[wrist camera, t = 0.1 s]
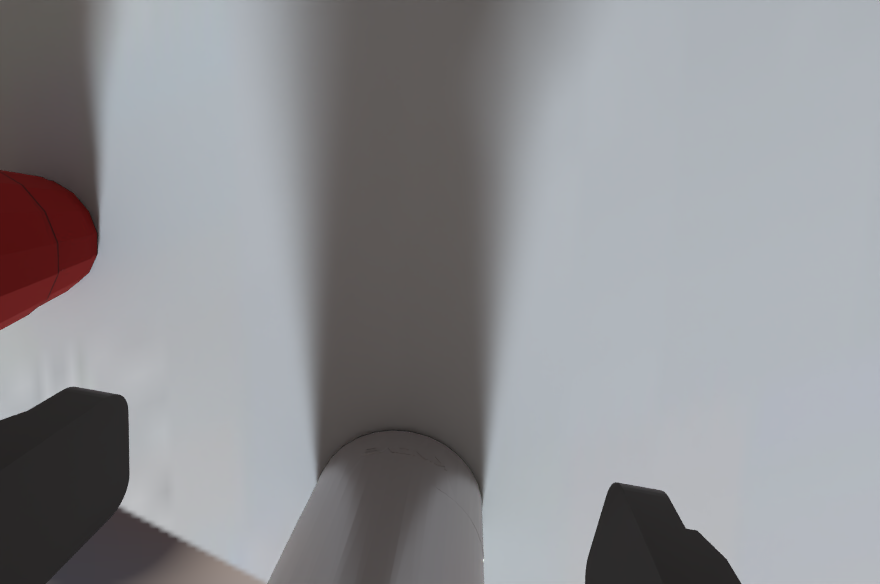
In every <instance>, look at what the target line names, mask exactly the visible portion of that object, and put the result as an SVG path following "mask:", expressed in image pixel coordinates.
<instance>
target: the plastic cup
mask: <svg viewBox="0 0 880 584" xmlns="http://www.w3.org/2000/svg"><path fill="white" fill-rule="evenodd" d="M96 256H97V232H96V229H95V227H94V224H93V221H92V219H91V216H90V213H89V211H88V210H87V209H86V208H85V206H84V205H83V204H82V203H81V202H80V200H79V199H78V198H77V197H76V196H75V194H74V193H72V192H71V191H69V190H67V189H66V188H64V187H62V186H61V185H59V184H57V183H56V182H54V181H51V180H47V179H45V178H43V177H39V176H33V175H27V174H22V173H16V172H9V171H3V170H0V330H1V329H3V328H5V327H7V326H9V325H11V324H12V323H14V322H16V321H18V320H20V319H22V318H23V317H25V316H27V315H29V314H30V313H31V312H32V311H33V310H35V309H36V308H37V307H39V306H41V305H42V304H44V303H46V302H48V301H50V300H52V299H53V298H55V297H57V296H59V295H61V294H63V293H64V292H66V291H68V290H69V289H70V288H71V287H73V286H74V285H75V284H76V283H78V282H79V281H80V280H81V279H82V278H83V277H84V276H86V275H87V274H88V273H89V272H90V269H91V267H92V265H93V263H94V261H95V258H96Z"/></svg>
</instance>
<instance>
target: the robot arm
mask: <svg viewBox="0 0 880 584" xmlns="http://www.w3.org/2000/svg"><path fill="white" fill-rule="evenodd" d="M128 482H129V423H128V405H127V402H126V400H125V398H124V397H123V396H121V395H118V394H112V393H107V392H101V391H95V390H90V389H84V388H79V387H69V388H66V389H64V390H62V391H60V392H59V393H57V394H55V395H54V396H52V397H50V398H49V399H47V400H45V401H44V402H42V403H40V404H38V405H37V406H35V407H33V408H32V409H30V410H28V411H26V412H23V413H20V414H17V415H14V416H11V417H9V418H6V419H3V420H0V584H46V583H47V582H48V581H49V580H50V579H51V578H52V577H53V576H54V575H55V574H56V573H57V571H58V570H60V568H61V567H62V566H63V565H64V564H65V563H66V562H67V561H68V560H69V559H70V558H71V557H72V556H73V555H74V554H75V553H76V552H77V551H78V550H79V549H80V548H81V547H82V546H83V545H84V544H85V543H86V542H87V541H88V540H89V539H90V538H91V537H92V536H93V535H94V534H95V533H96V532H97V531H98V530H99V529H100V527H102V526H103V525H104V524H105V523H106V522H107V521H108V520H109V519H110V518H111V516H112V515H113V514H114V512H115V511H116V510H117V509H118V507H119V505H120V504H121V502H122V500H123V498H124V495H125V493H126V490H127V486H128ZM267 584H484V552H483V523H482V498H481V494H480V491H479V487H478V483H477V481H476V479H475V478H474V476H473V474H472V472H471V470H470V468H469V467H468V466H467V465H466V464H465V463H464V461H463V460H462V459H461V458H460V457H459V456H458V455H457V454H456V453H454V452H453V451H452V450H451V449H449V448H448V447H447V446H445V445H444V444H442V443H440V442H438V441H436V440H434V439H432V438H430V437H427V436H424V435H420V434H417V433H413V432H406V431H394V430H392V431H383V432H375V433H371V434H368V435H365V436H362V437H359V438H357V439H355V440H353V441H352V442H350V443H348V444H346V445H345V446H343V447H342V448H341V449H340V450H339V451H338V452H337V453H336V454H335V455H334V456H332V458H331V459H330V461H329V462H328V464H327V465H326V467H325V468H324V470H323V472H322V474H321V476H320V478H319V480H318V482H317V484H316V486H315V488H314V490H313V492H312V494H311V496H310V498H309V500H308V502H307V504H306V506H305V508H304V510H303V512H302V514H301V516H300V518H299V520H298V522H297V524H296V526H295V528H294V530H293V532H292V534H291V536H290V538H289V540H288V542H287V544H286V546H285V548H284V550H283V553H282V555H281V557H280V559H279V561H278V563H277V565H276V567H275V569H274V571H273V573H272V575H271V577H270V579H269V581H268V583H267ZM585 584H741V582H740V581H739V579H738V577H737V576H736V574H735V572H734V571H733V569H732V568H731V566H730V564H729V563H728V561H727V559H726V558H725V557H724V556H723V555H722V554H721V553H720V552H718V551H717V550H716V549H715V548H714V547H713V546H712V545H711V544H710V543H709V542H708V541H707V540H706V539H705V538H704V537H703V536H702V535H701V534H700V533H699V532H698V531H696V530H690V529H686V528H685V526H684V524H683V523H682V521H681V519H680V517H679V515H678V514H677V512H676V510H675V508H674V506H673V504H672V503H671V501H670V499H669V497H668V496H667V494H666V493H665V492H663V491H661V490H656V489H650V488H645V487H639V486H633V485H628V484H622V483H616V482H615V483H613V484H612V485H611V487H610V488H609V490H608V493H607V496H606V499H605V502H604V506H603V509H602V512H601V516H600V519H599V522H598V526H597V529H596V532H595V536H594V539H593V542H592V546H591V549H590V552H589V556H588V560H587V565H586V575H585Z"/></svg>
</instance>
